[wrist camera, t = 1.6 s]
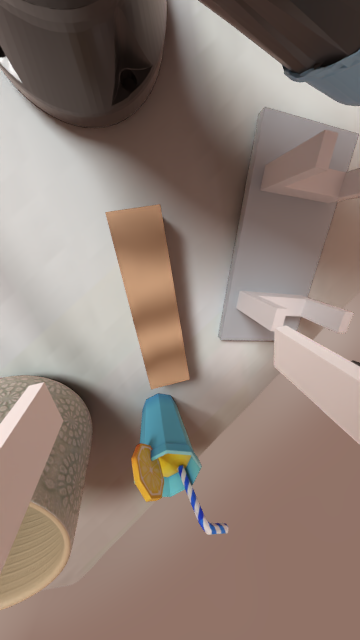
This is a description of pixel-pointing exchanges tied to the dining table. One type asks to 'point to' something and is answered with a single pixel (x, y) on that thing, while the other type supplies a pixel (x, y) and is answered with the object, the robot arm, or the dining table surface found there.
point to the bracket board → (287, 226)
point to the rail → (150, 291)
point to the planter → (47, 495)
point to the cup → (167, 458)
